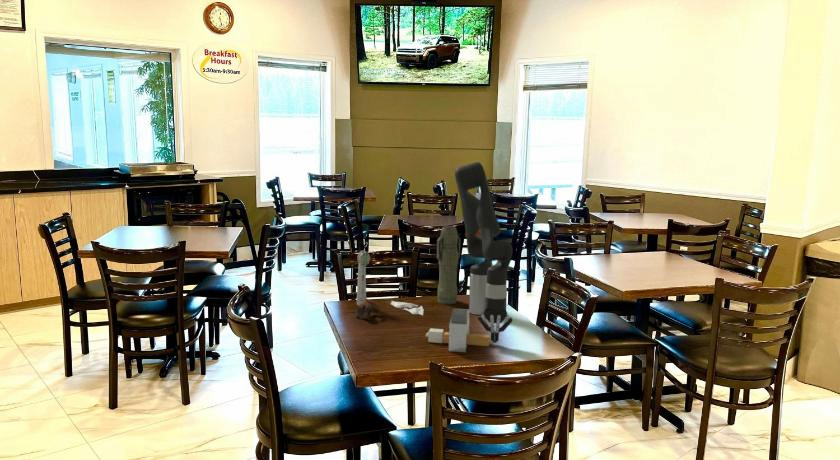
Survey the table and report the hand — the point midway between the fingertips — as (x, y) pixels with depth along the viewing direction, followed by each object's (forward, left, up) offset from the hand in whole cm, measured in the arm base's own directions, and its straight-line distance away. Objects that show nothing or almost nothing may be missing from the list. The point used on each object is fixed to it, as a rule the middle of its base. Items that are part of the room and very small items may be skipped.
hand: (494, 342), depth 228 cm
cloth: (+11, -57, -2) cm, 58 cm away
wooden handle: (+11, -7, -1) cm, 13 cm away
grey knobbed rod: (+30, -66, -1) cm, 72 cm away
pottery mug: (+34, -48, -2) cm, 59 cm away
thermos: (-9, -61, -1) cm, 62 cm away
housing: (+11, -6, -1) cm, 13 cm away
